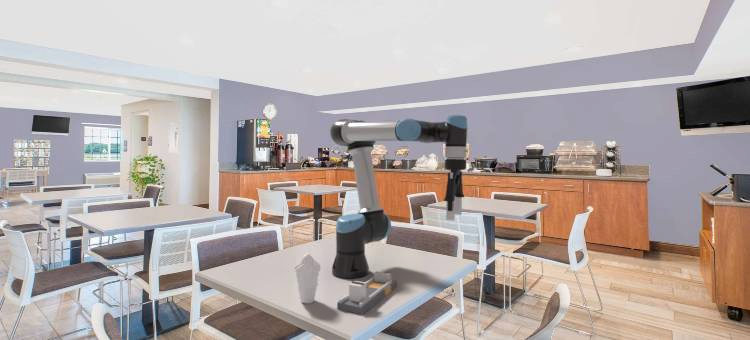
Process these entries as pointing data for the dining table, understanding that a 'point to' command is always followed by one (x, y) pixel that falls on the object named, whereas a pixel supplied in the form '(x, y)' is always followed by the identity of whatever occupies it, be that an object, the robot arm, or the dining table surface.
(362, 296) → the fader tab
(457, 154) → the robot arm
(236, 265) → the dining table surface
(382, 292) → the slider track
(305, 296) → the soft serve ice cream cone
